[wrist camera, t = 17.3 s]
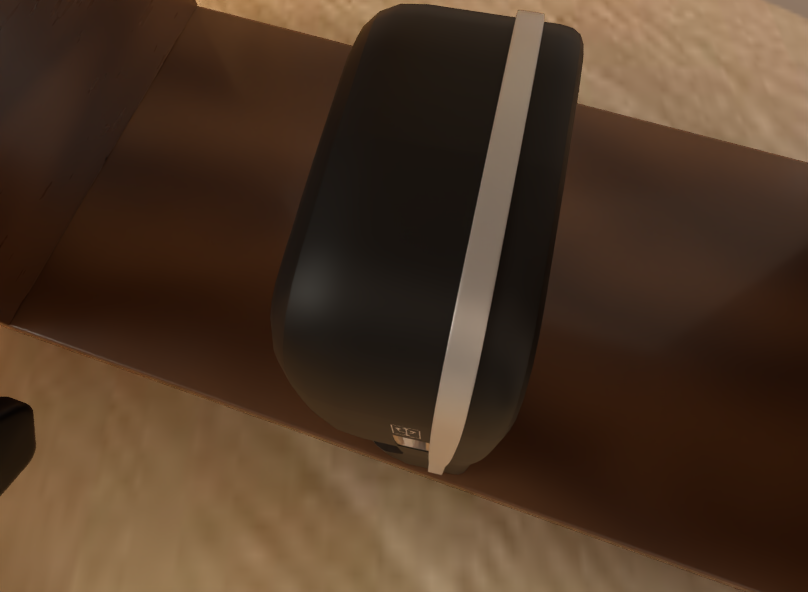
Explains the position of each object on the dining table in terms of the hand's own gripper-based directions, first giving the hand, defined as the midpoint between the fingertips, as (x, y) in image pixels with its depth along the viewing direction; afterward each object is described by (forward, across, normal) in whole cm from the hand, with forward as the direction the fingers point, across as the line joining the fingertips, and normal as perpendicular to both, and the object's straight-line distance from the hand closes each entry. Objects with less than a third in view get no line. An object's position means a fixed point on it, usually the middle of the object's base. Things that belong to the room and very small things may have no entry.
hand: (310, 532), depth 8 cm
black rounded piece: (+10, 0, +3) cm, 11 cm away
